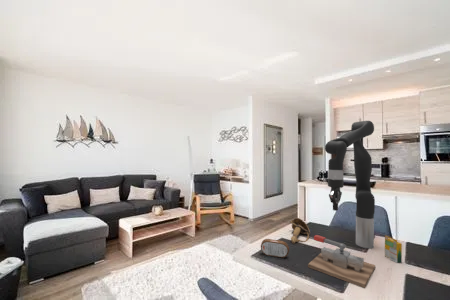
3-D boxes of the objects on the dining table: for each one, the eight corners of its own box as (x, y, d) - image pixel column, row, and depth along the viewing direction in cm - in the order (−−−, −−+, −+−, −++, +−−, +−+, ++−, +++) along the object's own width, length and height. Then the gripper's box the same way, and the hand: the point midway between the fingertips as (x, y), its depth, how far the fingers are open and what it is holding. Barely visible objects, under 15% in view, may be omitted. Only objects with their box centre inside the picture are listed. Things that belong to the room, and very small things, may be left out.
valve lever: (313, 243, 118) (313, 236, 118) (316, 241, 120) (316, 234, 120) (343, 253, 107) (343, 245, 107) (346, 251, 109) (346, 243, 109)
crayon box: (402, 262, 114) (402, 240, 114) (397, 263, 114) (397, 240, 114) (389, 256, 121) (389, 234, 121) (384, 256, 121) (384, 235, 121)
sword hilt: (314, 224, 153) (293, 214, 160) (310, 236, 132) (286, 223, 138) (308, 237, 155) (288, 226, 162) (303, 250, 133) (280, 237, 140)
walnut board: (324, 252, 125) (324, 249, 125) (375, 268, 108) (375, 265, 108) (308, 267, 109) (308, 264, 109) (364, 288, 93) (364, 284, 93)
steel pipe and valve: (324, 256, 117) (324, 244, 117) (364, 269, 105) (364, 256, 105) (320, 260, 113) (320, 248, 113) (361, 274, 100) (361, 260, 100)
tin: (289, 256, 120) (289, 241, 120) (288, 259, 117) (288, 243, 117) (261, 252, 125) (261, 237, 125) (260, 255, 122) (260, 239, 122)
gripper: (332, 176, 128) (332, 206, 128) (323, 178, 118) (323, 211, 118) (347, 177, 122) (347, 209, 122) (338, 179, 113) (338, 214, 113)
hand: (335, 210), depth 120 cm, fingers closed
